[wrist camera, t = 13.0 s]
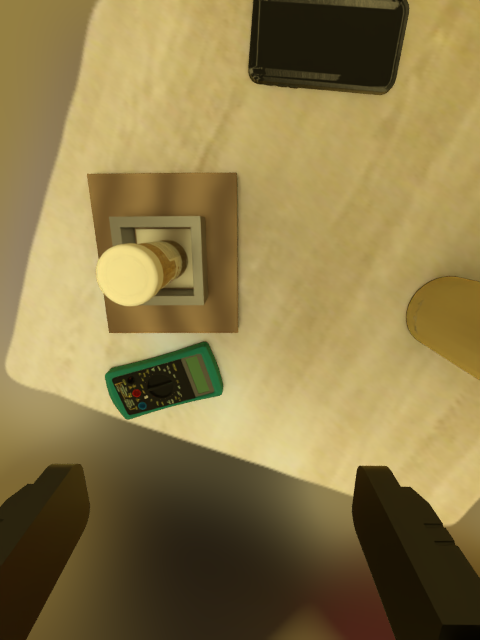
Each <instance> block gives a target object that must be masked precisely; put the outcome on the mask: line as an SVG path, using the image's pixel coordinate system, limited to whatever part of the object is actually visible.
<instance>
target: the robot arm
mask: <svg viewBox="0 0 480 640" xmlns="http://www.w3.org/2000/svg"><path fill="white" fill-rule="evenodd" d="M406 320H407V326H408V329H409V331H410V333H411V334H412V335H413V337H414V338H415V339H416V340H418V341H419V342H421V343H422V344H424V345H425V346H427V347H428V348H430V349H431V350H433V351H435V352H436V353H437V354H439V355H441V356H442V357H444V358H445V359H447V360H448V361H450V362H452V363H453V364H455V365H456V366H458V367H459V368H461V369H463V370H464V371H466V372H467V373H469V374H470V375H472V376H473V377H475V378H477V379H478V380H480V282H479V281H474V280H469V279H465V278H460V277H455V276H446V277H441V278H438V279H435V280H433V281H430V282H429V283H427V284H426V285H424V286H423V287H422V288H421V289H420V290H418V291H417V293H416V294H415V295H414V297H413V298H412V300H411V302H410V304H409V306H408V310H407V318H406ZM89 512H90V503H89V497H88V492H87V487H86V481H85V476H84V471H83V468H82V466H81V465H80V464H51V465H50V466H48V467H47V468H46V469H45V470H44V472H43V473H42V474H41V475H40V477H39V478H38V479H37V480H36V481H35V483H34V484H27V485H26V486H24V487H23V488H22V489H20V490H19V491H18V492H17V493H15V494H14V495H12V496H11V497H10V498H8V499H7V500H6V501H5V502H4V503H3V504H2V506H1V507H0V640H26V639H27V637H28V635H29V633H30V631H31V629H32V627H33V625H34V624H35V622H36V620H37V618H38V616H39V614H40V612H41V610H42V609H43V607H44V605H45V603H46V601H47V599H48V597H49V595H50V593H51V592H52V590H53V588H54V586H55V584H56V582H57V580H58V578H59V576H60V575H61V573H62V571H63V569H64V567H65V565H66V563H67V561H68V559H69V558H70V556H71V554H72V552H73V550H74V548H75V546H76V544H77V543H78V541H79V539H80V537H81V535H82V533H83V531H84V529H85V527H86V524H87V521H88V518H89ZM352 516H353V522H354V527H355V531H356V534H357V536H358V539H359V542H360V545H361V547H362V550H363V552H364V555H365V558H366V561H367V563H368V566H369V569H370V571H371V574H372V577H373V580H374V582H375V585H376V588H377V590H378V593H379V596H380V598H381V601H382V604H383V606H384V609H385V612H386V615H387V617H388V620H389V623H390V625H391V628H392V631H393V633H394V636H395V639H396V640H480V578H479V577H478V575H477V574H476V572H475V571H474V570H473V568H472V566H471V565H470V563H469V562H468V560H467V559H466V557H465V556H464V554H463V553H462V551H461V550H460V548H459V547H458V546H456V545H455V543H454V540H453V538H452V537H451V535H450V534H449V532H448V531H447V530H446V528H444V527H443V523H442V522H441V520H440V519H439V517H438V516H437V514H436V513H435V512H434V510H433V509H432V507H431V506H430V504H429V503H428V502H427V501H426V500H425V499H423V498H422V497H421V496H420V495H419V494H418V493H417V492H416V491H414V490H413V489H412V488H411V487H401V486H400V485H399V483H398V481H397V480H396V478H395V477H394V475H393V473H392V472H391V470H390V469H389V468H388V467H387V466H359V467H358V468H357V473H356V481H355V488H354V496H353V504H352Z"/></svg>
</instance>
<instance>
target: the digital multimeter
mask: <svg viewBox="0 0 480 640" xmlns="http://www.w3.org/2000/svg"><path fill="white" fill-rule="evenodd" d="M174 360H175V361H174ZM167 362H168V363H167ZM160 364H161V365H160ZM142 369H143V370H142ZM135 371H136V372H135ZM128 373H129V374H128ZM105 380H106V384H107V388H108V392H109V395H110V397H111V399H112V401H113V403H114V405H115V406H116V408H117V409H118V410H119V412H120V413H121V414H122V415H123V417H124V418H125V419H127V420H128V419H132V418H135V417H138V416H141V415H144V414H148V413H151V412H154V411H158V410H161V409H165V408H168V407H172V406H176V405H180V404H184V403H188V402H192V401H196V400H201V399H206V398H211V397H215V396H220V395H221V394H222V392H223V383H222V379H221V375H220V372H219V368H218V366H217V363H216V360H215V358H214V355H213V353H212V351H211V349H210V347H209V344H208V343H207V342H202V343H199V344H196V345H193V346H190V347H187V348H184V349H181V350H178V351H175V352H172V353H168V354H165V355H162V356H158V357H155V358H151V359H147V360H143V361H139V362H135V363H131V364H127V365H123V366H118V367H114V368H111V369H110V370H109V371H108V372H107V373H106V374H105Z"/></svg>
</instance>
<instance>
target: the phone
mask: <svg viewBox="0 0 480 640" xmlns="http://www.w3.org/2000/svg"><path fill="white" fill-rule="evenodd" d="M408 15H409V4H408V2H407V0H253V14H252V27H251V41H250V54H249V76H250V78H251V80H252V81H253V82H255V83H257V84H264V85H275V86H281V87H290V88H308V89H319V90H330V91H341V92H352V93H363V94H374V95H383V94H385V93H386V92H388V91H389V90H390V89H391V88H392V87H393V85H394V83H395V80H396V76H397V71H398V66H399V61H400V56H401V50H402V45H403V40H404V35H405V30H406V25H407V20H408Z"/></svg>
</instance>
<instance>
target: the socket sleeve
mask: <svg viewBox="0 0 480 640" xmlns="http://www.w3.org/2000/svg"><path fill="white" fill-rule="evenodd" d="M109 221H110V229H111V237H112V245H113V246H116V245H121V244H128V243H134V244H136V239H135V229H134V227H191V245H192V264H193V284H194V289H160V290H159V291H158V293H157V294H156V295H155V296H154V297H152V298H151V299H150V300H148V301H147V302H145V303H143V304H141V305H204V304H205V302H206V300H207V298H208V279H207V252H206V226H205V217H202V216H134V217H109Z"/></svg>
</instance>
